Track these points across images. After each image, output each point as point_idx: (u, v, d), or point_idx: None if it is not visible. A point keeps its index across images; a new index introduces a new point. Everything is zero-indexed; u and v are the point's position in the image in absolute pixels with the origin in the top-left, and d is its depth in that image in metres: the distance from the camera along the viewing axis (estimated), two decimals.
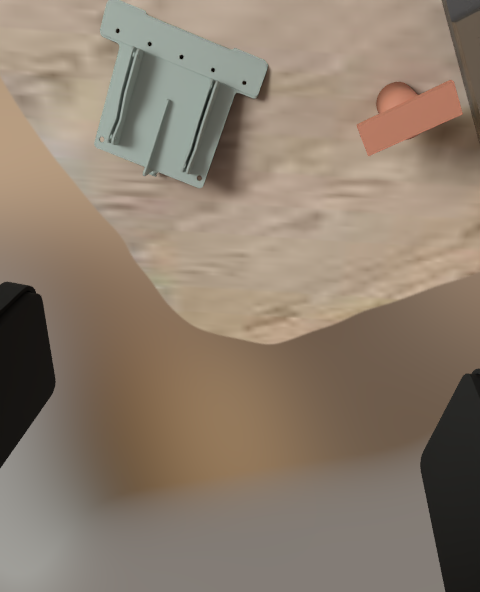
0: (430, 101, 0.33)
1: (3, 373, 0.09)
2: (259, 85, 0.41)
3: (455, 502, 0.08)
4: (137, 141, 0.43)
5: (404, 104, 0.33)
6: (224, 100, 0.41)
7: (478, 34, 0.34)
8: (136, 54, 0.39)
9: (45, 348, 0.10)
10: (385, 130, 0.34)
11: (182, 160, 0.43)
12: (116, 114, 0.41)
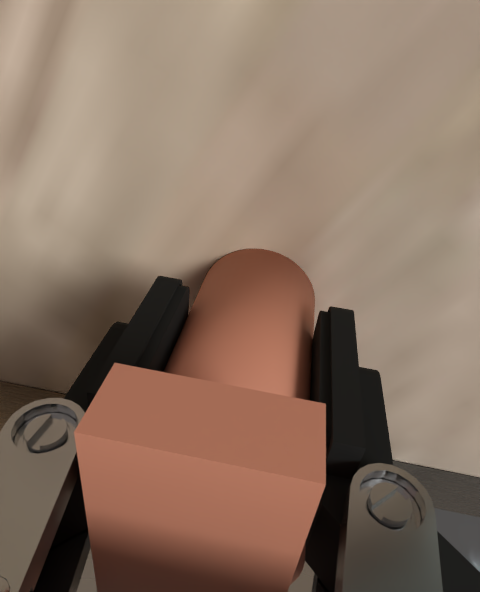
0: None
1: (168, 359, 0.10)
2: None
3: None
4: None
5: None
6: None
7: None
8: None
9: None
10: (196, 556, 0.05)
11: None
12: None
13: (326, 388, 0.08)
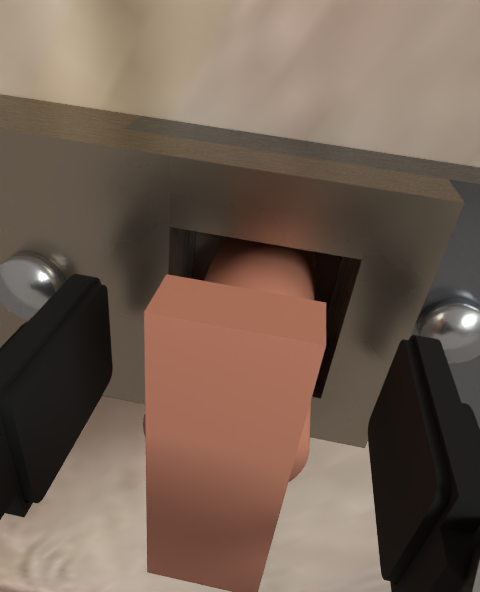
0: (238, 548, 0.09)
1: (77, 359, 0.09)
2: None
3: (388, 456, 0.09)
4: None
5: None
6: None
7: (375, 242, 0.10)
8: None
9: (107, 337, 0.11)
10: (227, 422, 0.07)
11: None
12: None
13: (433, 431, 0.07)
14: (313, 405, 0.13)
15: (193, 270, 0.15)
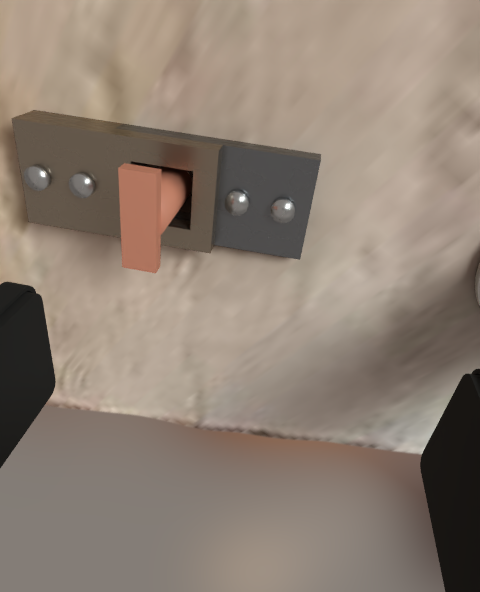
0: (147, 249, 0.30)
1: (3, 373, 0.09)
2: None
3: (455, 502, 0.08)
4: None
5: (157, 226, 0.29)
6: None
7: (196, 165, 0.32)
8: None
9: (45, 348, 0.10)
10: (139, 199, 0.28)
11: None
12: None
13: None
14: (188, 233, 0.35)
15: None
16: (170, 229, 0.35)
